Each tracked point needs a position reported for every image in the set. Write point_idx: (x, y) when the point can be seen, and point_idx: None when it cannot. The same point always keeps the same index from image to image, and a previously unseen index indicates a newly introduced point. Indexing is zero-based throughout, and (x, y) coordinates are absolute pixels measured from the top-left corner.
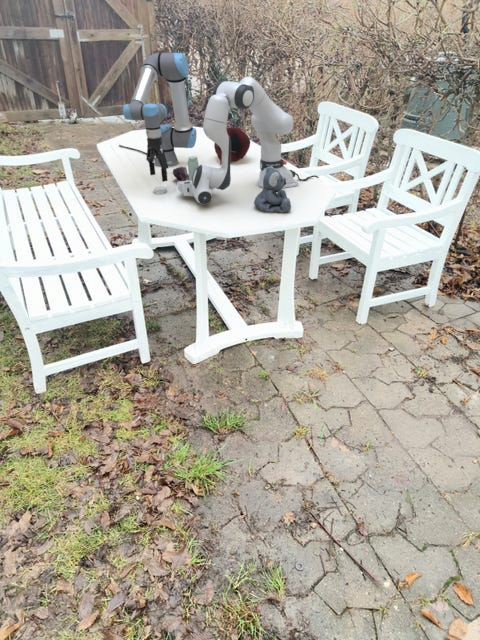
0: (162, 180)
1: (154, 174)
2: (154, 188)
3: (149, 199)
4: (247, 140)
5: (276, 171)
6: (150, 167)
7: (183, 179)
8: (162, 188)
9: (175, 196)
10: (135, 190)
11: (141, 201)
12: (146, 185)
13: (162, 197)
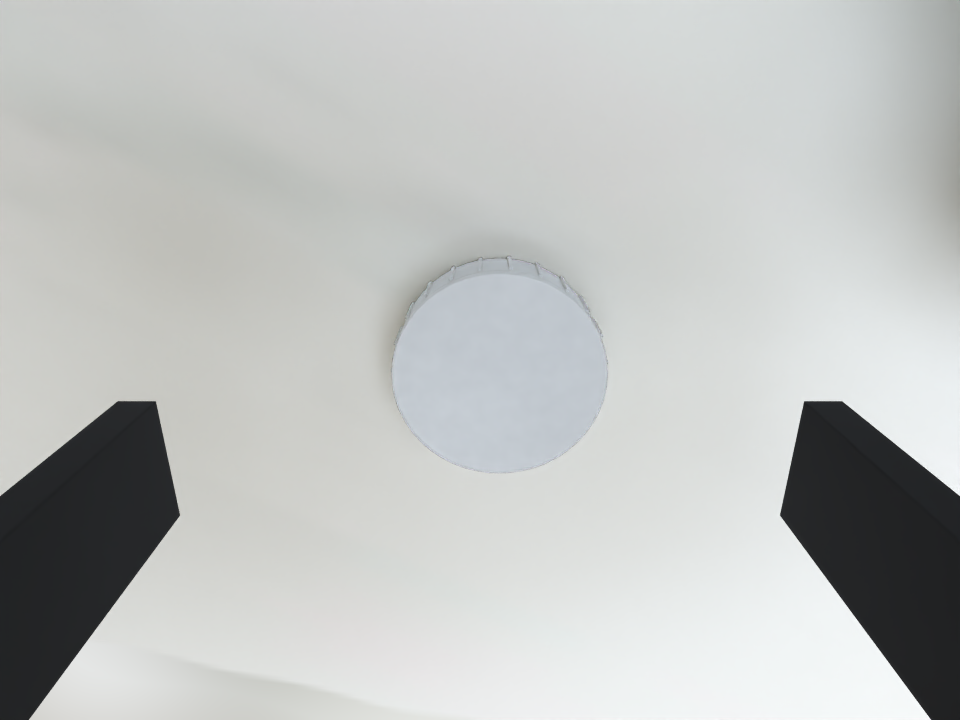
0: (796, 529)
1: (160, 430)
2: (464, 460)
3: (691, 613)
4: None
5: None
6: (51, 678)
7: None
8: (559, 353)
9: (894, 266)
10: (215, 594)
11: (680, 706)
12: (51, 374)
13: (762, 450)
